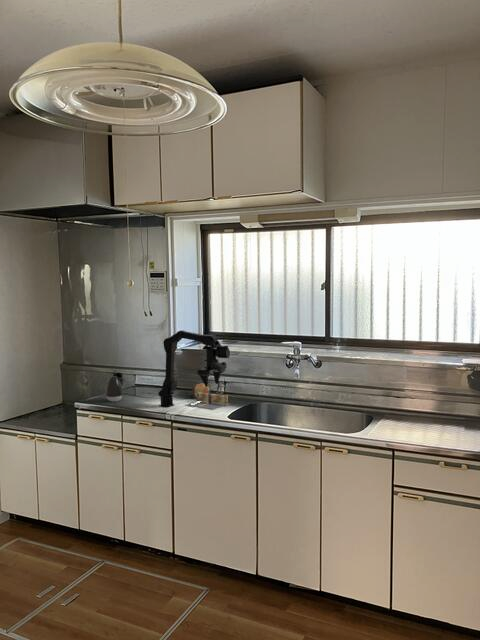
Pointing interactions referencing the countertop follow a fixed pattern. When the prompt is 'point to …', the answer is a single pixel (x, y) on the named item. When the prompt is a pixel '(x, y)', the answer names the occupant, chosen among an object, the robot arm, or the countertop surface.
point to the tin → (200, 389)
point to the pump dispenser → (114, 389)
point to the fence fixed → (204, 397)
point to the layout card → (208, 405)
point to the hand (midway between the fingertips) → (211, 385)
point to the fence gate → (219, 399)
